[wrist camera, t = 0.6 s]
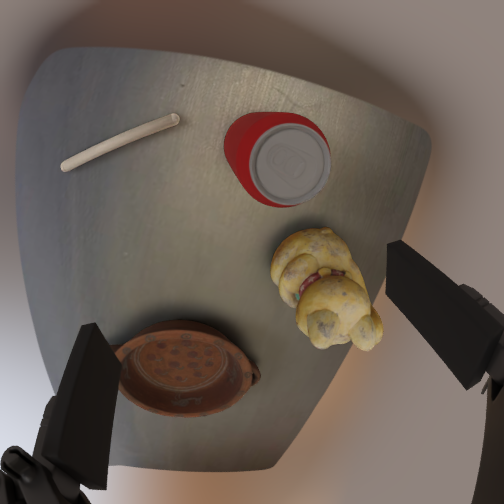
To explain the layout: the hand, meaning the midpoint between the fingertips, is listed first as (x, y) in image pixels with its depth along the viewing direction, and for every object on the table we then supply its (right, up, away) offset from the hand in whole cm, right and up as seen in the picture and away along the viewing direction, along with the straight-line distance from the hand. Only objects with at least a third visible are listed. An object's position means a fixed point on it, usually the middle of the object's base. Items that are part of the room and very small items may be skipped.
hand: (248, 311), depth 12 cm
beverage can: (+1, +13, +17) cm, 21 cm away
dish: (-10, -12, +27) cm, 31 cm away
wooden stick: (-13, +13, +14) cm, 23 cm away
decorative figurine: (+6, +3, +23) cm, 24 cm away
